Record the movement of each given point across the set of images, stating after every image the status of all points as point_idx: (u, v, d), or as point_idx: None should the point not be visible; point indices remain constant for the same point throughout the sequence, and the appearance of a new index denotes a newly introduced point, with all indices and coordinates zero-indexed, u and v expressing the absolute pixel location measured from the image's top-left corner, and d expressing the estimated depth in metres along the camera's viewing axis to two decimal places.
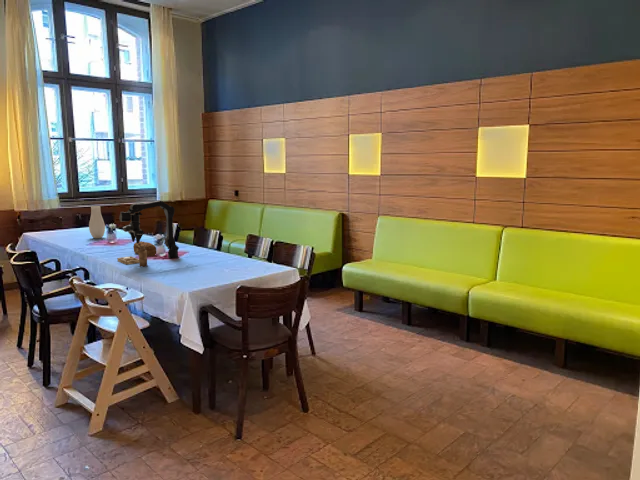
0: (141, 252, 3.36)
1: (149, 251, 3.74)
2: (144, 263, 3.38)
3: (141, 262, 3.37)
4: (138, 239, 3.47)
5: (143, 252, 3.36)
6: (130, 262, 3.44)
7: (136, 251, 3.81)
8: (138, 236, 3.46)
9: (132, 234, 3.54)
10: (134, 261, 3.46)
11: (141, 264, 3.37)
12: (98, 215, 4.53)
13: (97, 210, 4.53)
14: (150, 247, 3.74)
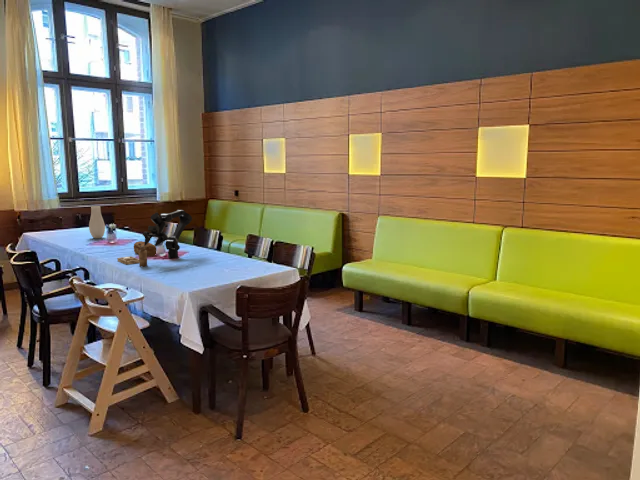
0: (141, 252, 3.36)
1: (149, 251, 3.74)
2: (144, 263, 3.38)
3: (141, 262, 3.37)
4: (158, 242, 3.45)
5: (143, 252, 3.36)
6: (130, 262, 3.44)
7: (136, 251, 3.81)
8: (160, 240, 3.46)
9: (147, 238, 3.50)
10: (134, 261, 3.46)
11: (141, 264, 3.37)
12: (98, 215, 4.53)
13: (97, 210, 4.53)
14: (150, 247, 3.74)
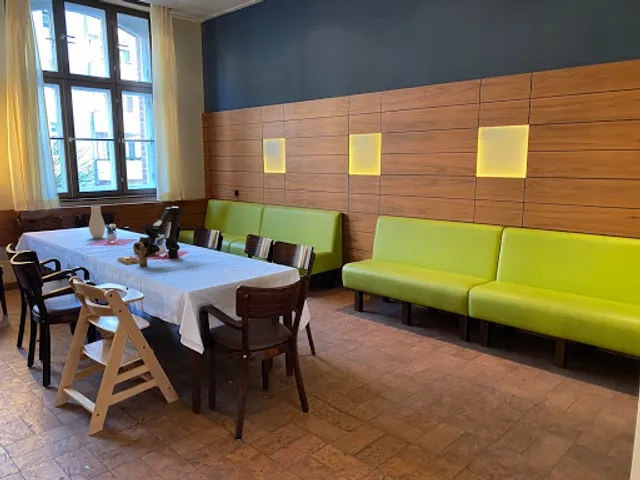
0: (141, 252, 3.36)
1: None
2: (144, 263, 3.38)
3: (141, 262, 3.37)
4: (148, 254, 3.38)
5: (143, 252, 3.36)
6: (130, 262, 3.44)
7: (136, 251, 3.80)
8: (149, 251, 3.40)
9: None
10: (134, 261, 3.46)
11: (141, 264, 3.37)
12: (98, 215, 4.53)
13: (97, 210, 4.53)
14: None
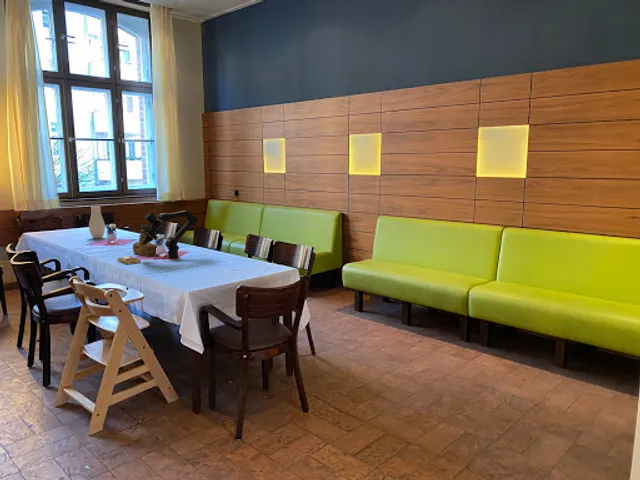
0: (140, 239, 3.50)
1: (151, 251, 3.75)
2: (142, 250, 3.51)
3: (140, 249, 3.51)
4: (146, 241, 3.50)
5: (141, 239, 3.50)
6: (130, 262, 3.44)
7: (136, 251, 3.80)
8: (148, 239, 3.51)
9: None
10: (134, 261, 3.46)
11: (140, 251, 3.51)
12: (98, 215, 4.53)
13: (97, 210, 4.53)
14: (152, 247, 3.75)
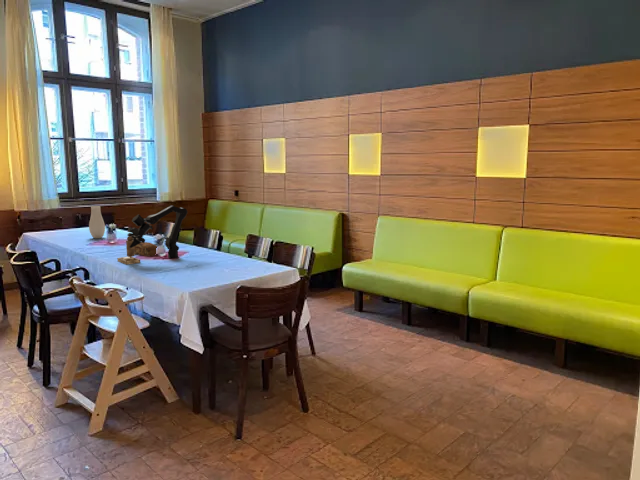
0: (127, 242, 3.44)
1: (152, 251, 3.75)
2: (130, 253, 3.45)
3: (127, 252, 3.45)
4: (133, 244, 3.44)
5: (129, 242, 3.44)
6: (130, 262, 3.44)
7: (136, 251, 3.79)
8: (135, 242, 3.45)
9: None
10: (134, 261, 3.46)
11: (127, 254, 3.46)
12: (98, 215, 4.53)
13: (97, 210, 4.53)
14: (153, 247, 3.75)
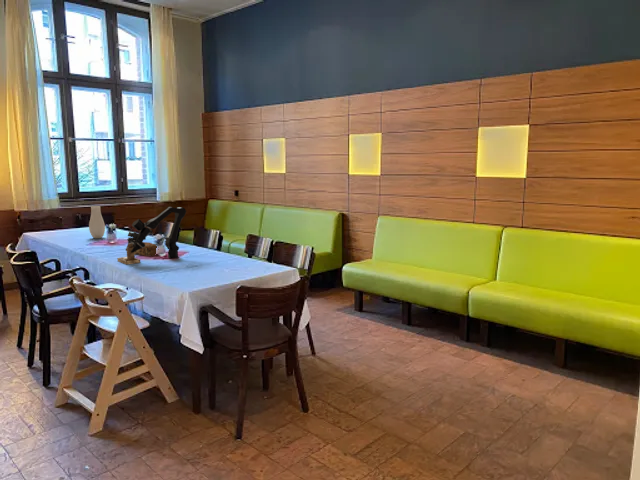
0: (127, 249, 3.45)
1: (152, 251, 3.76)
2: (130, 260, 3.46)
3: (127, 258, 3.46)
4: (135, 249, 3.44)
5: (129, 249, 3.44)
6: (130, 262, 3.44)
7: (136, 251, 3.79)
8: (137, 247, 3.44)
9: None
10: (134, 261, 3.46)
11: (128, 260, 3.46)
12: (98, 215, 4.53)
13: (97, 210, 4.53)
14: (153, 247, 3.76)
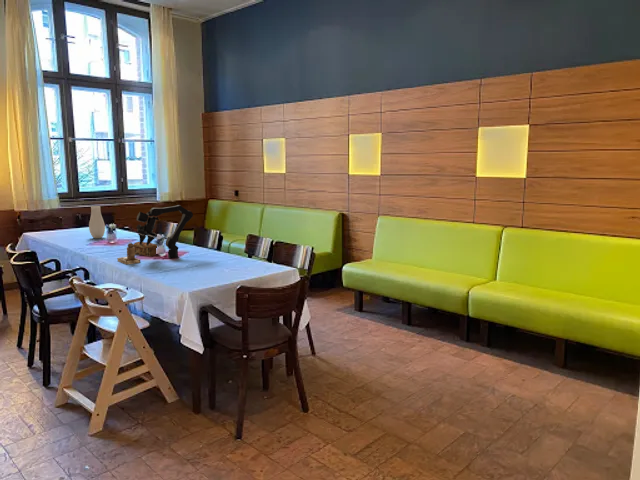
0: (127, 249, 3.45)
1: (153, 251, 3.76)
2: (130, 260, 3.46)
3: (128, 258, 3.46)
4: (141, 240, 3.52)
5: (129, 249, 3.45)
6: (130, 262, 3.44)
7: (136, 252, 3.78)
8: (142, 237, 3.52)
9: (149, 238, 3.63)
10: (134, 261, 3.46)
11: (128, 260, 3.46)
12: (98, 215, 4.53)
13: (97, 210, 4.53)
14: (154, 247, 3.76)
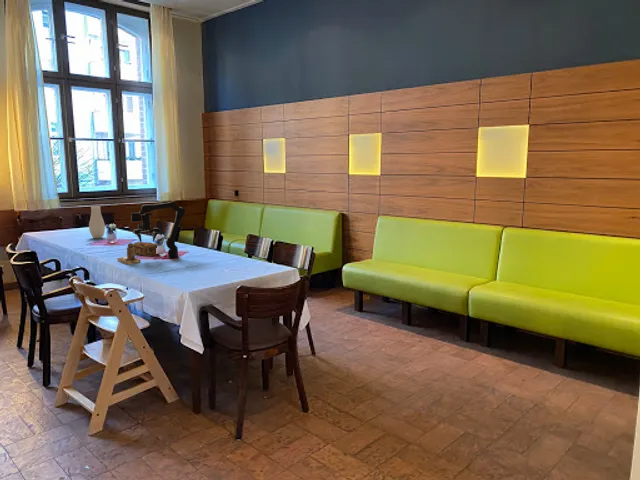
0: (127, 249, 3.45)
1: (154, 251, 3.76)
2: (130, 260, 3.46)
3: (127, 258, 3.46)
4: (139, 238, 3.57)
5: (129, 249, 3.44)
6: (130, 262, 3.44)
7: (137, 252, 3.78)
8: None
9: (153, 234, 3.64)
10: (134, 261, 3.46)
11: (128, 260, 3.46)
12: (98, 215, 4.53)
13: (97, 210, 4.53)
14: (155, 246, 3.77)
